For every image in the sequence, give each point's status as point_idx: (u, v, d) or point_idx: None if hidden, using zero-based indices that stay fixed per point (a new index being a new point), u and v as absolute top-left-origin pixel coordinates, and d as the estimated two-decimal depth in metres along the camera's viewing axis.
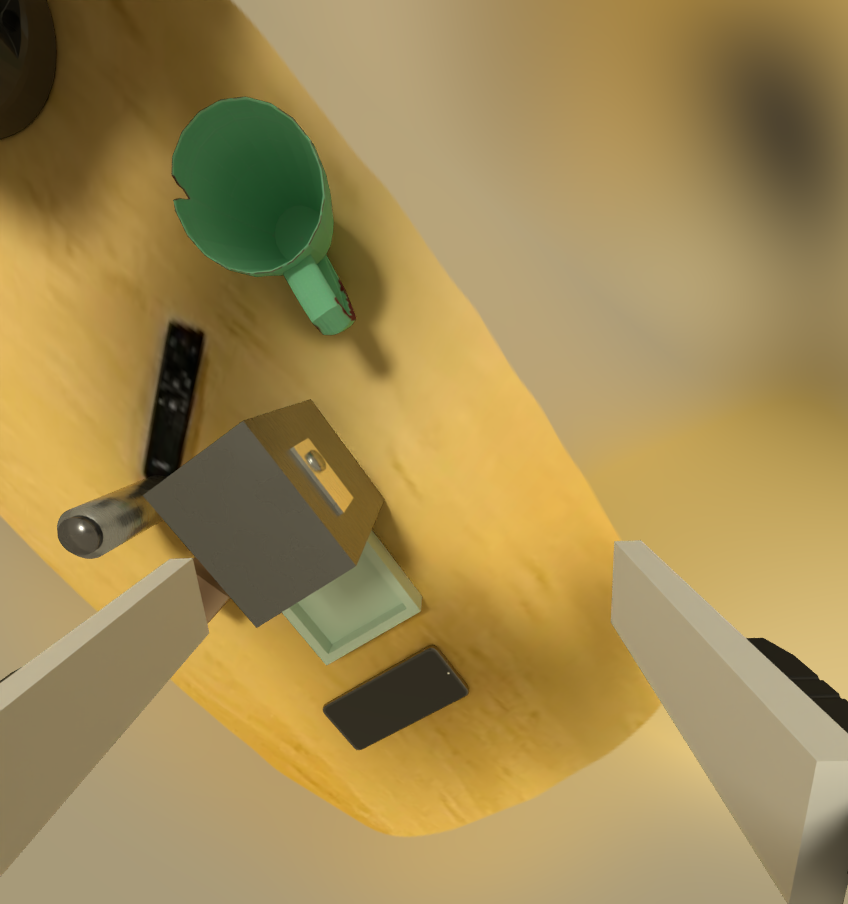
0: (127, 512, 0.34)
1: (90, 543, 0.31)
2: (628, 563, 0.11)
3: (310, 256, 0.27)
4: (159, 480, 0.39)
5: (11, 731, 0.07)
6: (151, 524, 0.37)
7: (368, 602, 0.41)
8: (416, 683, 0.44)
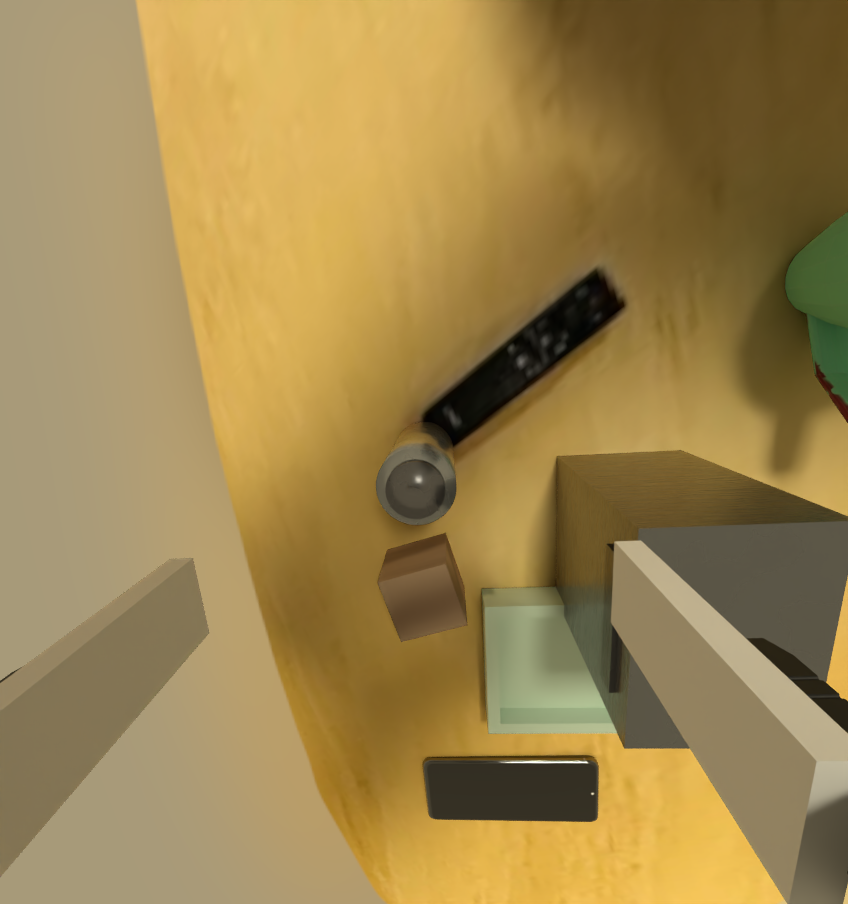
0: None
1: (425, 508, 0.21)
2: (628, 563, 0.11)
3: None
4: (448, 436, 0.29)
5: (11, 731, 0.07)
6: None
7: (572, 688, 0.34)
8: (550, 787, 0.36)
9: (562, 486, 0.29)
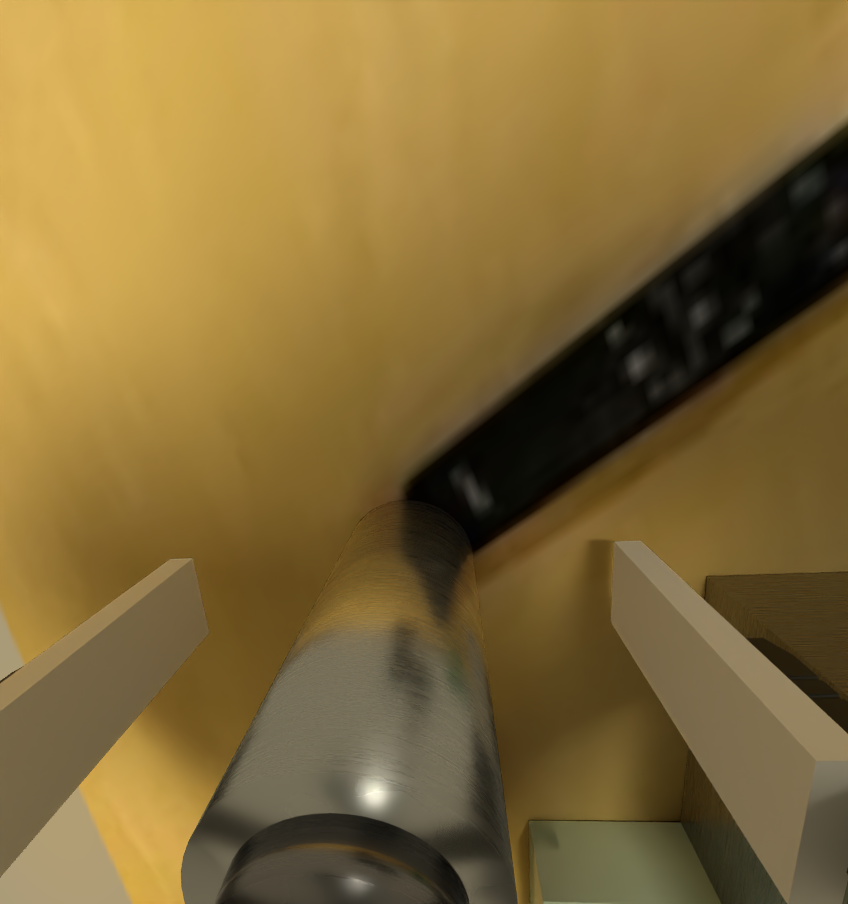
0: None
1: None
2: (628, 563, 0.11)
3: None
4: (463, 541, 0.12)
5: (12, 731, 0.07)
6: None
7: None
8: None
9: None
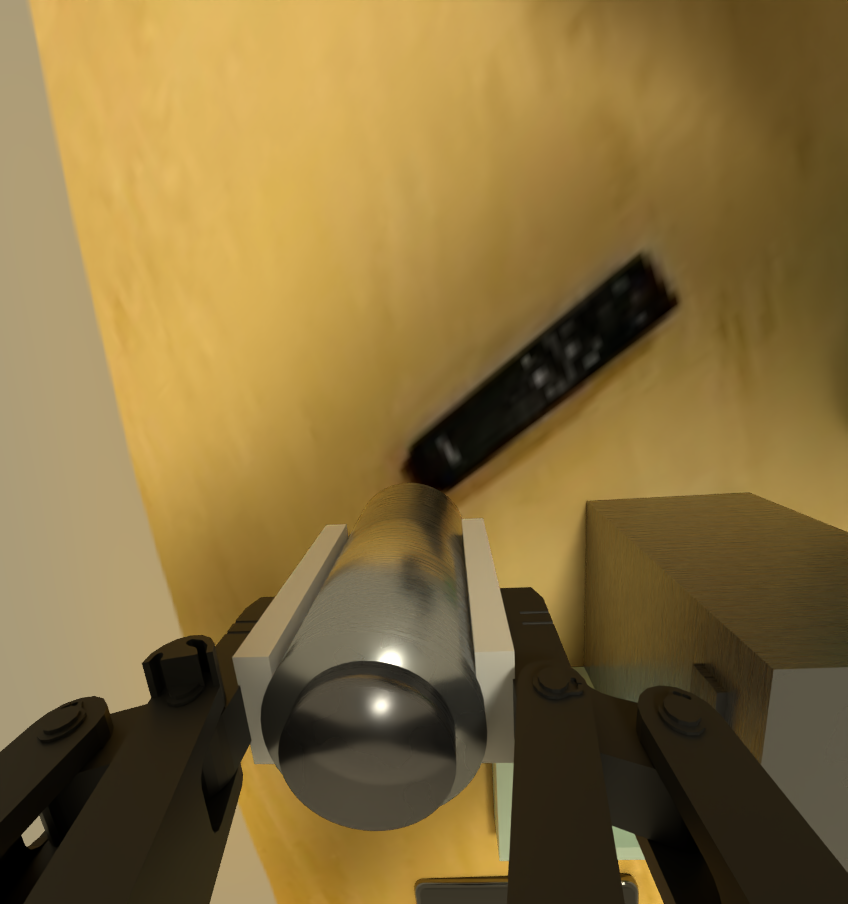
0: None
1: (398, 805, 0.07)
2: (462, 535, 0.13)
3: None
4: (456, 516, 0.15)
5: None
6: None
7: None
8: None
9: (597, 542, 0.22)
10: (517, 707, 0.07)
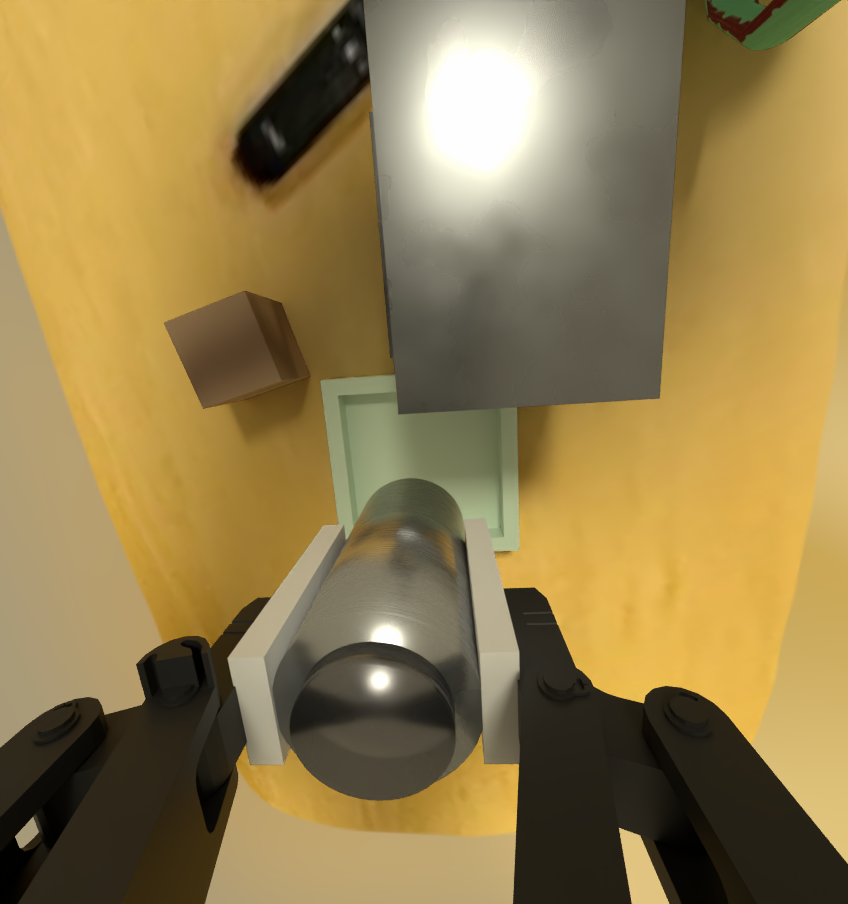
0: None
1: (402, 776, 0.08)
2: (465, 535, 0.13)
3: None
4: (455, 510, 0.15)
5: (286, 643, 0.09)
6: None
7: None
8: None
9: None
10: (522, 708, 0.07)
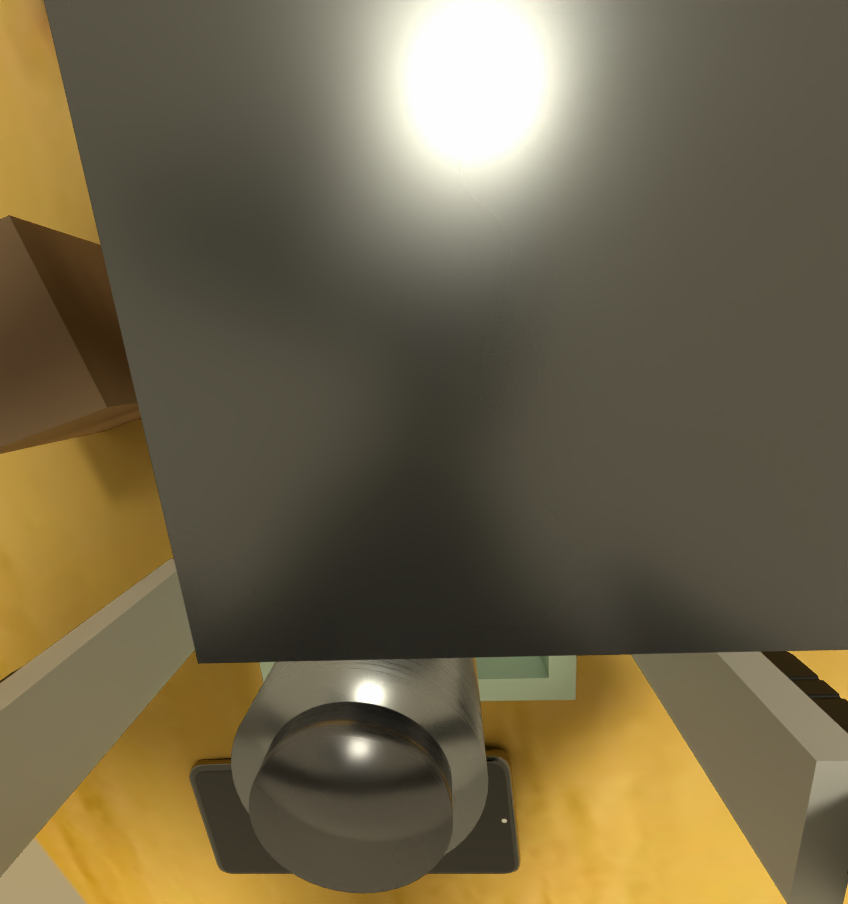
0: None
1: (387, 866, 0.06)
2: None
3: None
4: None
5: (11, 731, 0.07)
6: None
7: None
8: None
9: None
10: None
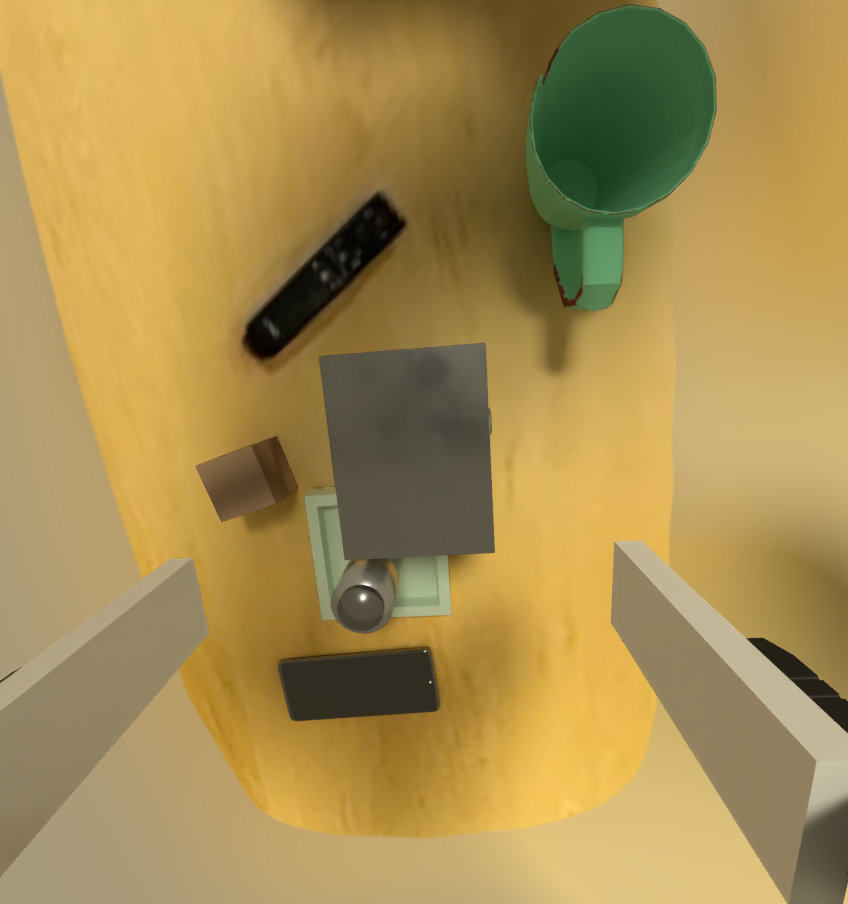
0: (396, 590, 0.30)
1: (368, 623, 0.27)
2: (628, 563, 0.11)
3: None
4: None
5: (11, 731, 0.07)
6: None
7: None
8: (392, 678, 0.40)
9: None
10: None
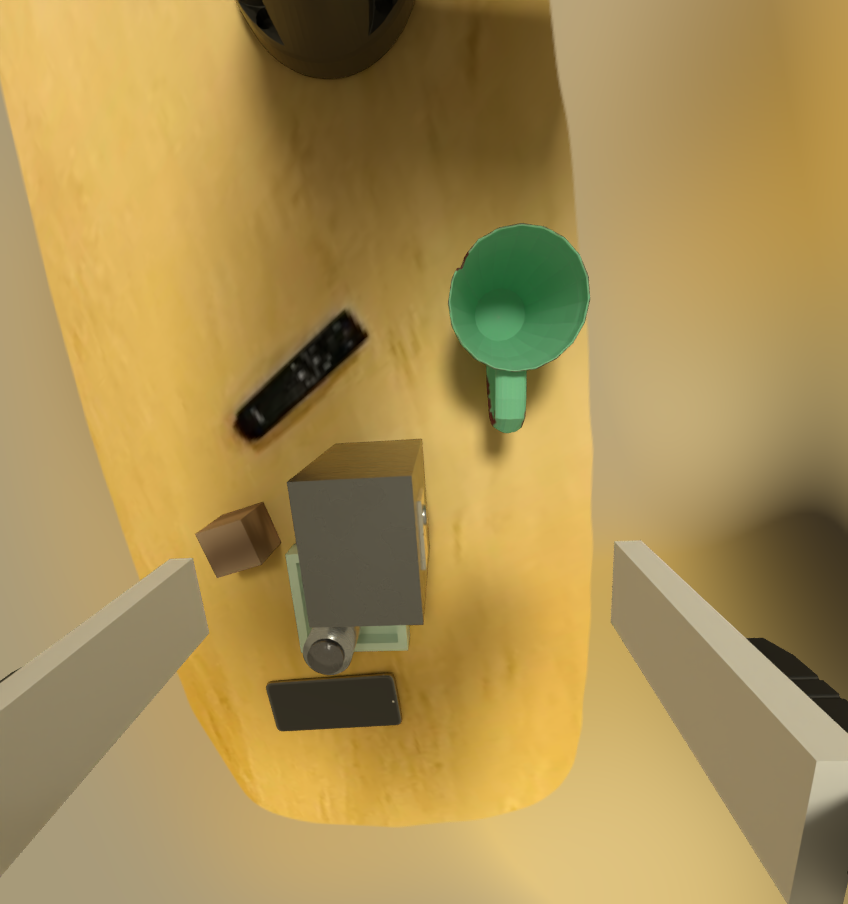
0: (357, 639, 0.37)
1: (332, 668, 0.35)
2: (628, 563, 0.11)
3: (526, 369, 0.30)
4: None
5: (11, 731, 0.07)
6: None
7: None
8: (361, 698, 0.48)
9: None
10: None
